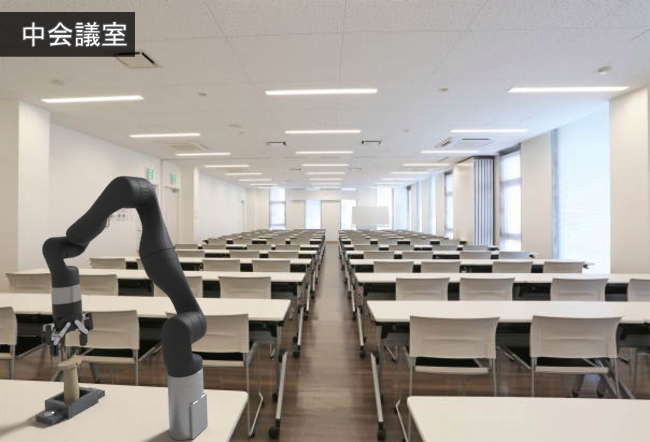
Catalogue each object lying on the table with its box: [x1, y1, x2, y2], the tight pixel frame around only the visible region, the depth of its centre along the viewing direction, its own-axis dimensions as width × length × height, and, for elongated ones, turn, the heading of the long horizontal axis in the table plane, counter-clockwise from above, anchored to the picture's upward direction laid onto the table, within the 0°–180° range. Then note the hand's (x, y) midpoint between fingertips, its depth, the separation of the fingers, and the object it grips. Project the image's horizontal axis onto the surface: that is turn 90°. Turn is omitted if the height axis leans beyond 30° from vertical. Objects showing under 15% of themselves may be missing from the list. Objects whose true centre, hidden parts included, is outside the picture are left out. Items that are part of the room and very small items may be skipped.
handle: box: [57, 356, 83, 403], centre depth 109 cm, size 5×6×15 cm
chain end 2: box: [70, 386, 106, 418], centre depth 111 cm, size 10×12×4 cm
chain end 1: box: [35, 390, 74, 426], centre depth 107 cm, size 10×12×4 cm
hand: (69, 350), depth 108 cm, fingers open, 8 cm apart
